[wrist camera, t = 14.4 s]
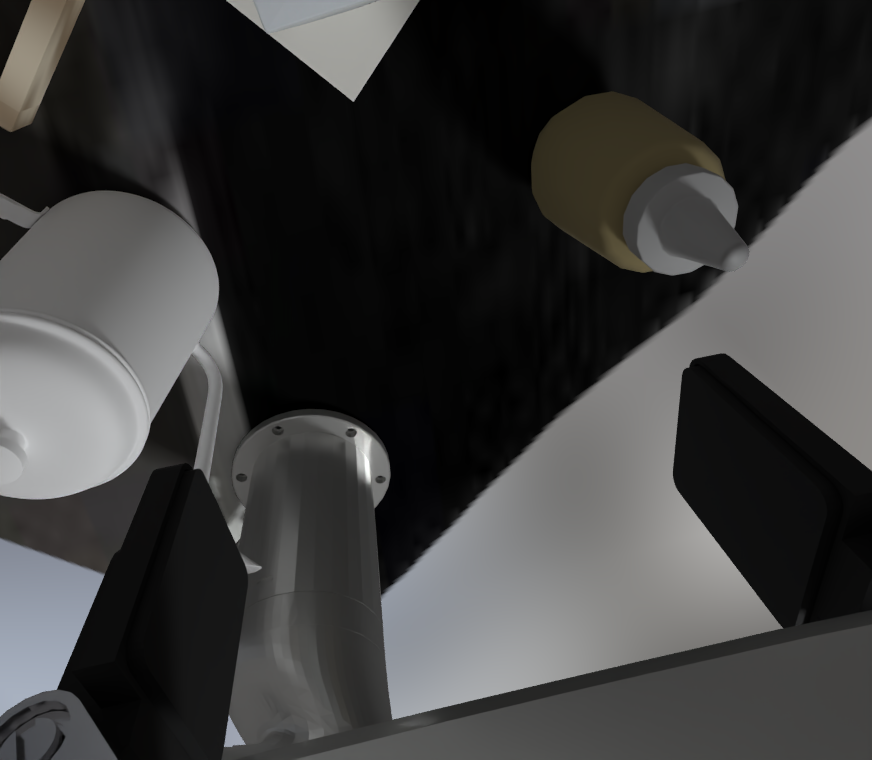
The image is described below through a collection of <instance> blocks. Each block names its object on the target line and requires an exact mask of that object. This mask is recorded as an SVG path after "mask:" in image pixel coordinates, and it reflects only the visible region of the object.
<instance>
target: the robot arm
mask: <svg viewBox="0 0 872 760" xmlns="http://www.w3.org/2000/svg"><path fill="white" fill-rule="evenodd" d="M231 477H232V485H233V488H234V490H235V493H236V496H237V497H238V499H239V500H240V502H241V503H242V504H243V506H244V507H245V508H246V509H245V515H244V520H243V526H242V532H241V537H240V539H239V541H238V542H237V543H235V541H234V539H233V537H232V535H231V532H230V530H229V528H228V526H227V523H226V521H225V519H224V517H223V515H222V512H221V510H220V508H219V506H218V504H217V501H216V499H215V497H214V495H213V493H212V490H211V488H210V486H209V484H208V482H207V479H206V477H205V475H204V473H203V471H202V470H201V469H194V470H193V469H192V467H191V466H190V465H189V464H187V463H184V464H179V465H174V466H169V467H165V468H160V469H156V470H154V471H153V472H152V474H151V476H150V479H149V481H148V484H147V486H146V489H145V491H144V494H143V496H142V498H141V501H140V503H139V506H138V508H137V511H136V513H135V516H134V518H133V521H132V523H131V525H130V528H129V530H128V533H127V535H126V538H125V540H124V543H123V545H122V547H121V549H120V550H119V551H118V552H116V553H115V554H114V556H113V558H112V559H111V561H110V564H109V566H108V569H107V571H106V573H105V576H104V578H103V581H102V583H101V585H100V588H99V590H98V592H97V595H96V598H95V600H94V602H93V604H92V607H91V609H90V612H89V614H88V617H87V619H86V621H85V624H84V626H83V628H82V631H81V633H80V636H79V638H78V640H77V643H76V645H75V647H74V650H73V652H72V655H71V657H70V659H69V662H68V664H67V667H66V669H65V671H64V674H63V676H62V679H61V681H60V683H59V686H58V688H57V690H53V691H46V692H42V693H39V694H37V695H35V696H32V697H29V698H27V699H25V700H23V701H22V702H20V703H18V704H17V705H15V706H14V707H12V708H11V709H9V710H7V711H6V712H5V713H4V714H3V715H2V716H1V717H0V760H872V471H871V470H870V469H868V468H867V467H866V466H865V465H863V464H862V463H861V462H860V461H859V460H857V459H856V458H855V457H854V456H852V455H851V454H850V453H849V452H847V451H846V450H845V449H843V448H842V447H841V446H840V445H839V444H837V443H836V442H835V441H834V440H833V439H831V438H830V437H829V436H828V435H826V434H825V433H824V432H823V431H821V430H820V429H819V428H818V427H816V426H815V425H814V424H813V423H811V422H810V421H809V420H808V419H806V418H805V417H804V416H803V415H801V414H800V413H799V412H798V411H797V410H795V409H794V408H792V406H790V405H789V404H788V403H787V402H785V401H784V400H783V399H782V398H780V397H779V396H778V395H777V394H776V393H774V392H773V391H772V390H771V389H769V388H768V387H767V386H765V385H764V384H763V383H762V382H761V381H759V380H758V379H757V378H756V377H754V376H753V375H752V374H751V373H750V372H748V371H747V370H746V369H745V368H743V367H742V366H741V365H740V364H738V363H737V362H736V361H735V360H733V359H732V358H731V357H730V356H728V355H726V354H716V355H711V356H706V357H702V358H697V359H694V360H692V362H691V363H690V367H689V368H686V369H684V371H683V374H682V382H681V393H680V403H679V413H678V424H677V435H676V445H675V456H674V466H673V478H674V483H675V485H676V488H677V490H678V491H679V493H680V494H681V495H682V497H683V498H684V499H685V501H686V502H687V503H688V504H689V506H690V507H691V508H692V510H693V511H694V512H695V514H696V515H697V516H698V518H699V519H700V520H701V522H702V523H703V524H704V525H705V527H706V528H707V529H708V531H709V532H710V533H711V535H712V536H713V537H714V538H715V540H716V541H717V542H718V544H719V545H720V547H721V548H722V549H723V550H724V552H725V553H726V554H727V556H728V557H729V558H730V560H731V561H732V562H733V564H734V565H735V566H736V568H737V569H738V570H739V571H740V572H741V574H742V575H743V577H744V578H745V579H746V581H747V582H748V583H749V585H750V586H751V587H752V589H753V590H754V591H755V592H756V594H757V595H758V596H759V598H760V599H761V600H762V602H763V603H764V604H765V606H766V607H767V608H768V609H769V611H770V612H771V613H772V615H773V616H774V617H775V619H776V620H777V621H778V623H779V624H780V625H781V626H782V627H783V629H779V630H774V631H770V632H765V633H761V634H756V635H752V636H748V637H744V638H739V639H735V640H730V641H726V642H722V643H717V644H713V645H709V646H704V647H700V648H696V649H692V650H687V651H683V652H679V653H674V654H669V655H666V656H661V657H657V658H652V659H648V660H643V661H639V662H635V663H630V664H627V665H622V666H618V667H613V668H609V669H605V670H601V671H596V672H592V673H588V674H584V675H579V676H575V677H571V678H566V679H562V680H558V681H554V682H549V683H545V684H541V685H537V686H532V687H528V688H524V689H520V690H516V691H511V692H507V693H503V694H499V695H494V696H490V697H486V698H482V699H477V700H473V701H469V702H465V703H461V704H457V705H452V706H448V707H444V708H440V709H436V710H431V711H427V712H423V713H419V714H415V715H412V716H407V717H403V718H399V719H394V720H392V715H391V707H390V699H389V692H388V682H387V673H386V662H385V650H384V636H383V620H382V607H381V594H380V580H379V567H378V553H377V540H376V526H375V513H374V508H375V507H376V506H377V505H378V504H379V502H380V501H381V500H382V498H383V497H384V495H385V493H386V490H387V488H388V485H389V480H390V464H389V458H388V453H387V451H386V448H385V446H384V444H383V442H382V441H381V440H380V438H379V437H378V436H377V434H376V433H375V432H374V431H372V430H371V429H370V428H369V427H368V426H367V425H365V424H364V423H362V422H360V421H359V420H357V419H355V418H353V417H351V416H348V415H345V414H342V413H340V412H335V411H330V410H324V409H302V410H294V411H289V412H286V413H282V414H278V415H276V416H274V417H271V418H269V419H267V420H265V421H263V422H262V423H260V424H259V425H257V426H256V427H255V428H253V429H252V430H251V431H250V432H249V433H248V434H247V435H246V436H245V437H244V438H243V440H242V441H241V443H240V445H239V446H238V448H237V450H236V453H235V457H234V460H233V465H232V472H231ZM240 552H241V553H242V554H243V555H245V556H246V557H248V558H249V559H251V560H252V561H254V562H255V563H257V564H258V565H260V566H261V567H262V568H261V569H260V570H258V571H256V572H254V573H250V574H248V573H247V569H246V566H245V563H244V561H243V559H242V557H241V554H240ZM229 715H230V718H231V720H232V721H233V723H234V725H235V727H236V729H237V730H238V732H239V734H240V736H241V737H242V739H243V740H244V742H245V744H246V745H236V746H233V747H224V742H225V735H226V729H227V722H228V716H229Z"/></svg>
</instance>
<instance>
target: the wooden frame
mask: <svg viewBox="0 0 872 760" xmlns="http://www.w3.org/2000/svg"><path fill="white" fill-rule="evenodd" d="M84 2H85V0H32V1H31V3H30V6H29V8H28V11H27V13H26V16H25V18H24V21H23V23H22V26H21V28H20V31H19V33H18V36H17V38H16V41H15V43H14V46H13V48H12V51H11V53H10V56H9V58H8V61H7V63H6V66H5V68H4V71H3V73H2V76H1V78H0V126H1V127H3V128H4V129H6V130H8V131H9V132H13V131H15V130H17V129H20V128H22V127H25V126H27V125H29V124H32V121H33V119H34V117H35V114H36V112H37V110H38V108H39V105H40V103H41V101H42V98H43V96H44V94H45V91H46V89H47V87H48V85H49V82H50V80H51V78H52V75H53V73H54V71H55V68H56V66H57V64H58V62H59V59H60V57H61V55H62V52H63V50H64V48H65V45H66V43H67V41H68V38H69V36H70V34H71V32H72V29H73V27H74V25H75V22H76V20H77V18H78V15H79V13H80V11H81V9H82V6H83V4H84Z"/></svg>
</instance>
